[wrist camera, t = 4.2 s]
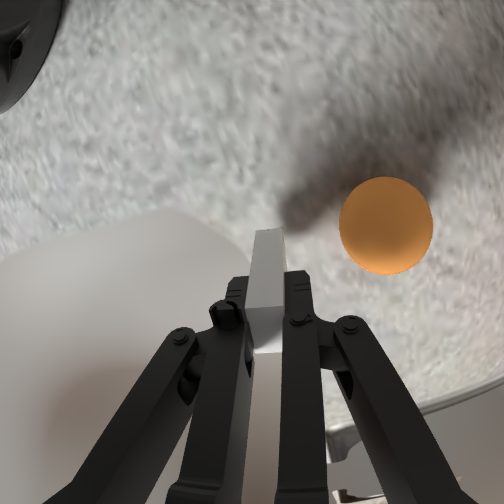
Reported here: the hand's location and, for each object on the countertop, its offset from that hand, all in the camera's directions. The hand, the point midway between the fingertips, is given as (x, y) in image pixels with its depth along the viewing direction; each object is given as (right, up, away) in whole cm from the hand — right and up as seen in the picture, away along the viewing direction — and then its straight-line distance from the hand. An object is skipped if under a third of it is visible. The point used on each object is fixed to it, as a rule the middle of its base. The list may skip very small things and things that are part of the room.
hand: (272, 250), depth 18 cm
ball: (+6, +1, -2) cm, 7 cm away
